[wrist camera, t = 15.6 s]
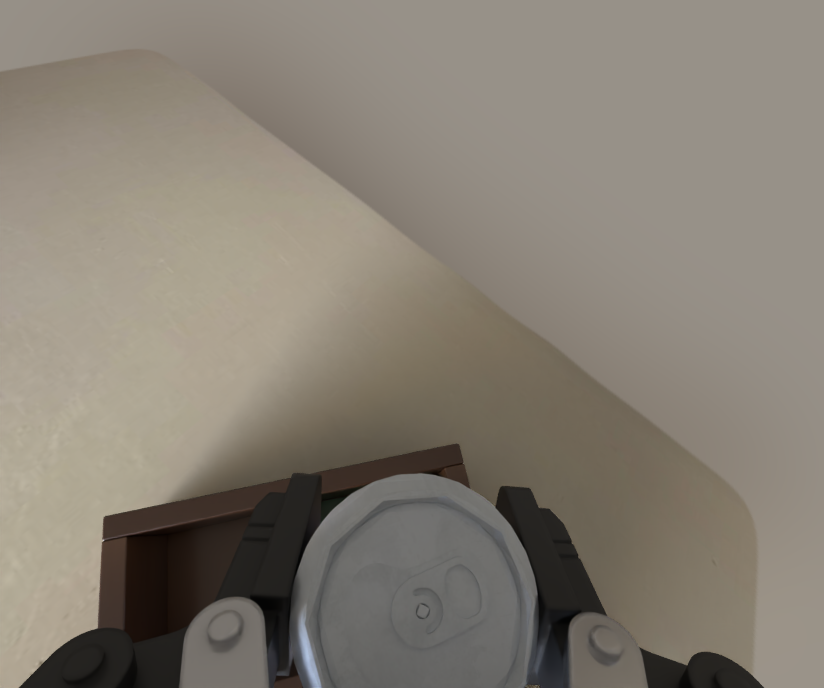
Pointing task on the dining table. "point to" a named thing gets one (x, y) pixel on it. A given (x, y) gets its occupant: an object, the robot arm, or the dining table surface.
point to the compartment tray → (215, 545)
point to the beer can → (414, 592)
